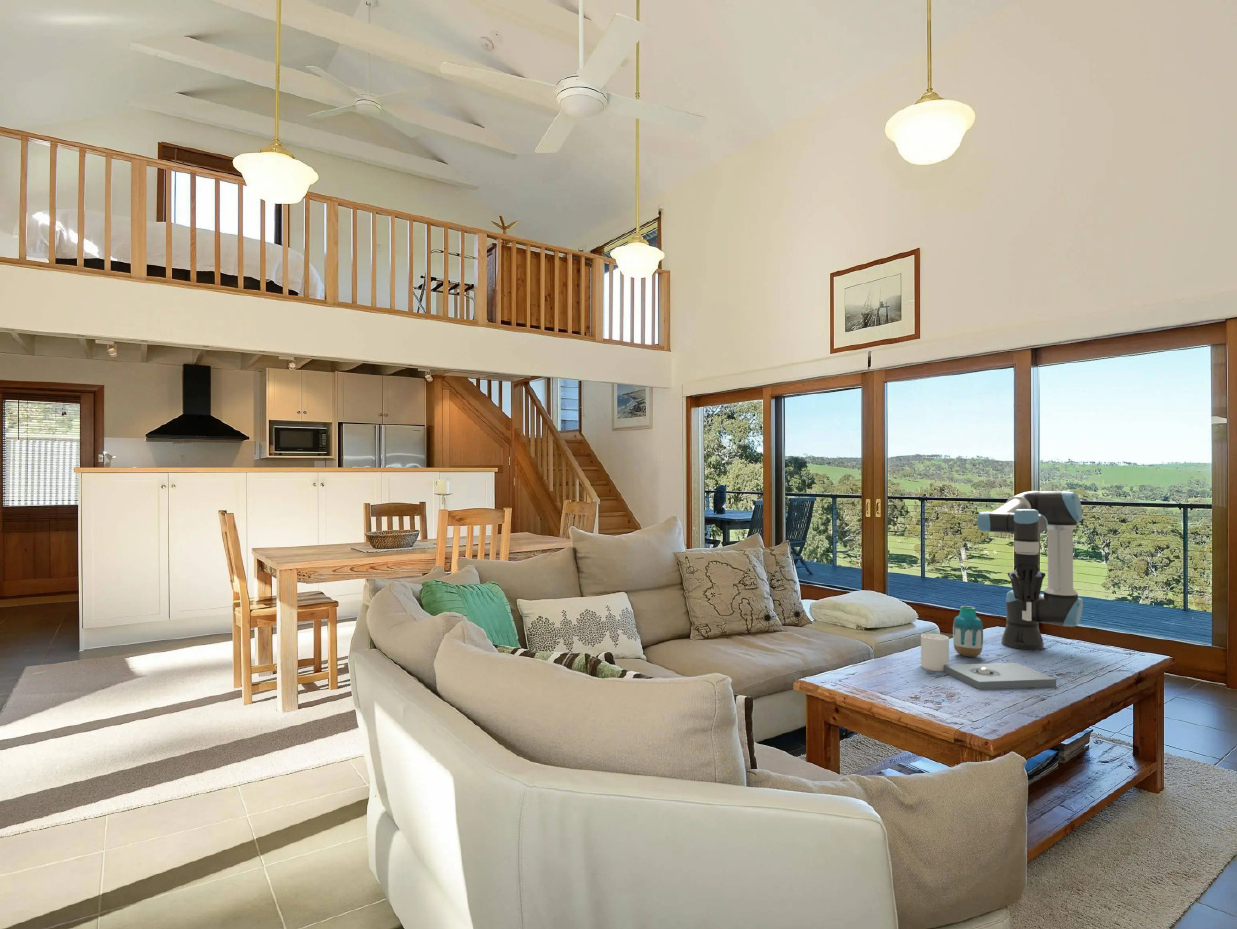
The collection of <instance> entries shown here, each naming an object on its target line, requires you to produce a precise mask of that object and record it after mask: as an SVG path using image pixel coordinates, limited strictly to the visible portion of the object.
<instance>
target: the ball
mask: <svg viewBox="0 0 1237 929" xmlns="http://www.w3.org/2000/svg"><path fill="white" fill-rule="evenodd" d="M978 673H981V674H987V675H990V672H989V670H988V669H986V668H980V669H979V670H978Z"/></svg>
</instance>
